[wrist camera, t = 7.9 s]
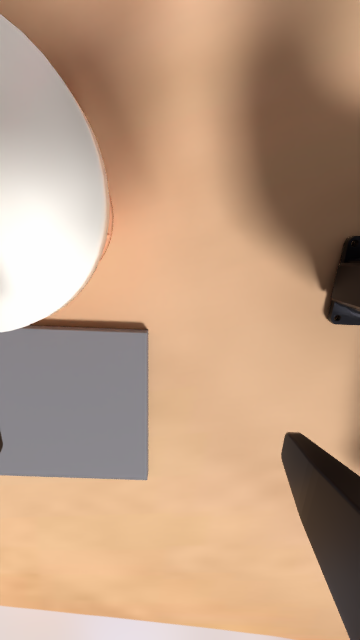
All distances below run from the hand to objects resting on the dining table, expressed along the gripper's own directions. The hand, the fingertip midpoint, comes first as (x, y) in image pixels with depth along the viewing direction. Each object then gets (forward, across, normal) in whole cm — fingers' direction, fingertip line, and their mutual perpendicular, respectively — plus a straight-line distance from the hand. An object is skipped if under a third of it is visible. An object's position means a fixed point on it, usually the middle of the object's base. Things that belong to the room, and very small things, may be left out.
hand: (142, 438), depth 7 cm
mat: (+12, +9, +8) cm, 17 cm away
